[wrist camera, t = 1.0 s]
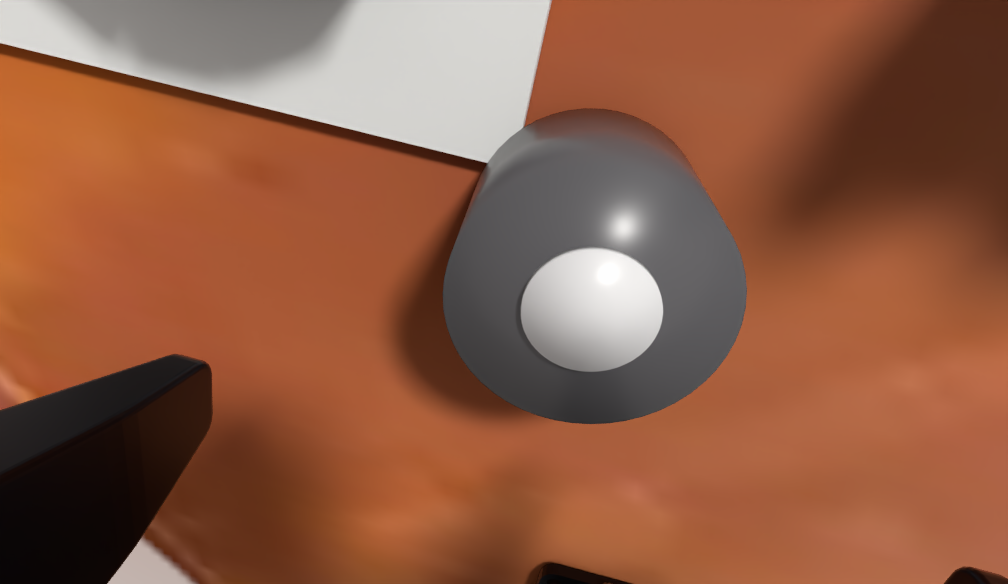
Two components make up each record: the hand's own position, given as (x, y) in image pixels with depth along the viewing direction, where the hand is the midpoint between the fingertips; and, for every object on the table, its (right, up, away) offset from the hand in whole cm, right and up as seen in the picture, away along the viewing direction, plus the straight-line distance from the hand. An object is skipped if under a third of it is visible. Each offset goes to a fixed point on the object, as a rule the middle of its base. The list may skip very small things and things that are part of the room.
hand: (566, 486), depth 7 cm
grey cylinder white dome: (+1, +4, +8) cm, 9 cm away
